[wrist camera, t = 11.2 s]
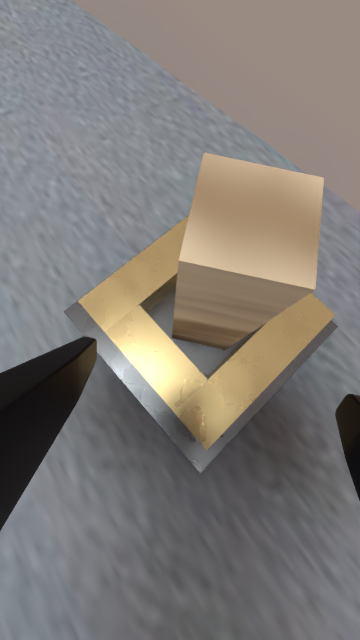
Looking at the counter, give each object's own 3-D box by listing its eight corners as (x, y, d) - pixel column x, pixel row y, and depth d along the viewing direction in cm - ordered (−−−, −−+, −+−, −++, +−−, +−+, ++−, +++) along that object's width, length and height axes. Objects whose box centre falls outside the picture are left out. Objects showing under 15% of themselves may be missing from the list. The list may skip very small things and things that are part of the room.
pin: (225, 349, 21) (315, 289, 8) (171, 338, 21) (178, 260, 8) (233, 299, 22) (323, 177, 9) (182, 288, 22) (203, 152, 9)
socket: (330, 329, 23) (364, 316, 19) (198, 469, 19) (206, 489, 15) (204, 209, 25) (210, 177, 21) (68, 315, 22) (46, 299, 18)
